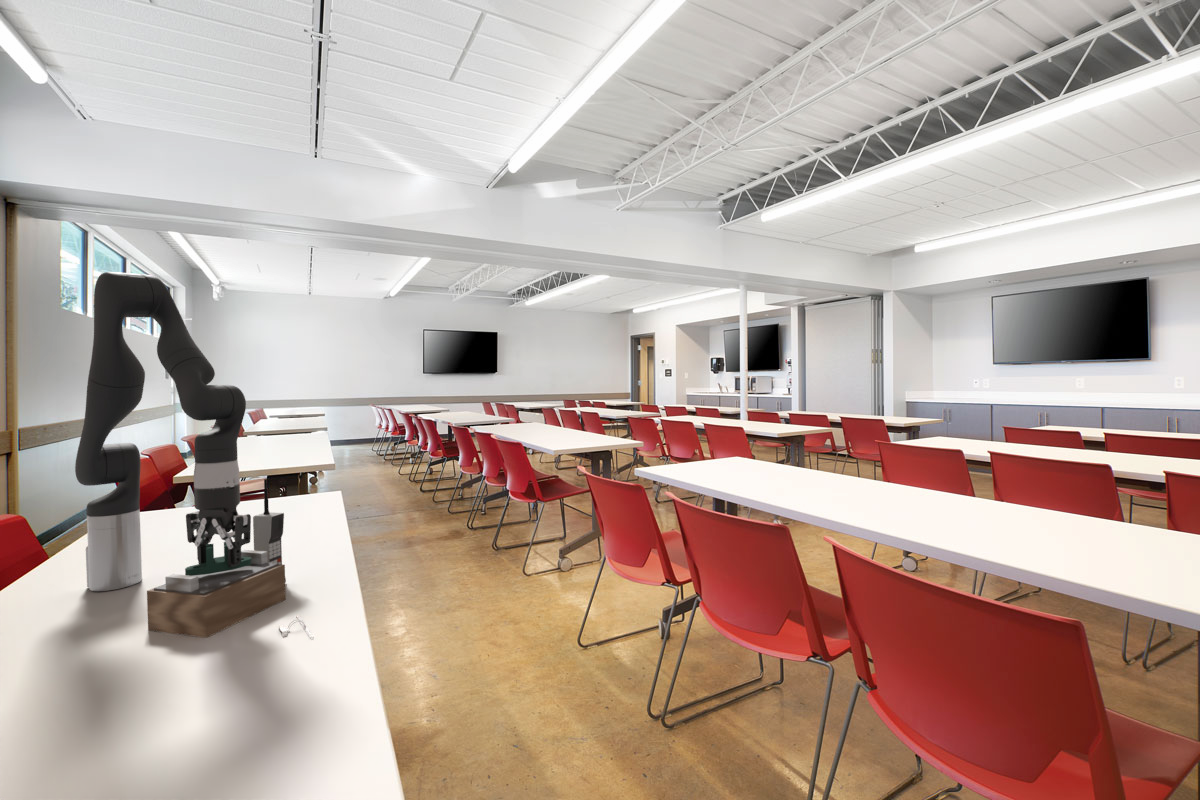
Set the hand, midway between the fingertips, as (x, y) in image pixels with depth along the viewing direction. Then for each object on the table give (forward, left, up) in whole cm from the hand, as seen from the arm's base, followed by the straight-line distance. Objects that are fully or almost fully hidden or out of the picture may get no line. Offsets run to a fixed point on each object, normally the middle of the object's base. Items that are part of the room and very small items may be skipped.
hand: (219, 564), depth 108 cm
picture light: (+21, -3, -11) cm, 23 cm away
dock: (0, 0, -10) cm, 10 cm away
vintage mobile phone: (-3, +15, -10) cm, 18 cm away
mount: (0, 0, -1) cm, 1 cm away
